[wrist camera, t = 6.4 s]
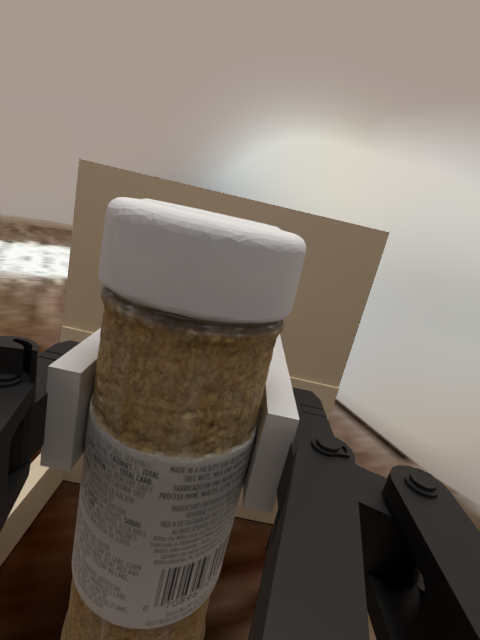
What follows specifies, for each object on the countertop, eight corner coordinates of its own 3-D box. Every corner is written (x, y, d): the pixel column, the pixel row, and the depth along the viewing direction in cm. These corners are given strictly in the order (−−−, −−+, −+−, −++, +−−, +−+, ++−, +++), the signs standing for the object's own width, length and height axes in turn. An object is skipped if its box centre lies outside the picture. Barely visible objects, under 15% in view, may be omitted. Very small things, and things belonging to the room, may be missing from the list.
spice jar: (177, 552, 15) (249, 219, 11) (225, 679, 11) (355, 245, 8) (52, 588, 13) (93, 184, 9) (61, 763, 9) (136, 197, 5)
